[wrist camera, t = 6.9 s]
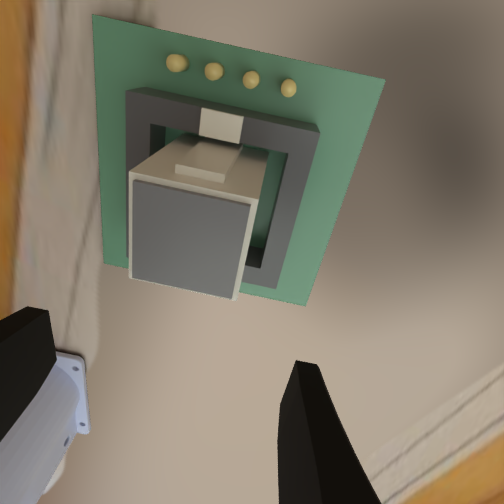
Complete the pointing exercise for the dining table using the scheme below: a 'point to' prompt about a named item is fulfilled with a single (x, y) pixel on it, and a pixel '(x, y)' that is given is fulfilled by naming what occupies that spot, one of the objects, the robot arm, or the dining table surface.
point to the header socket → (233, 138)
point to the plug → (194, 214)
